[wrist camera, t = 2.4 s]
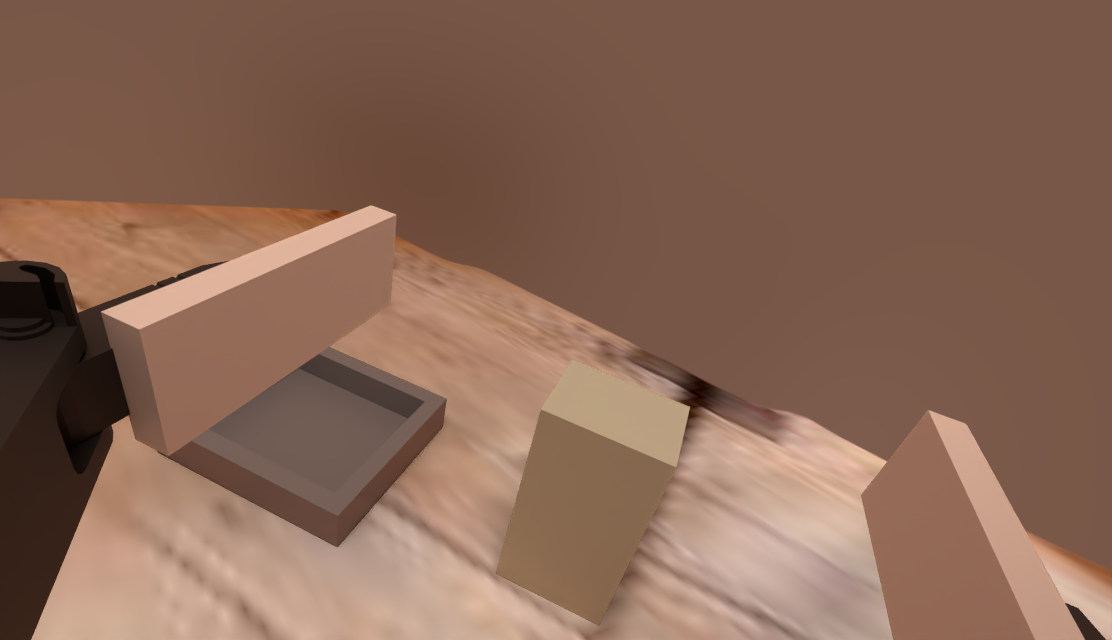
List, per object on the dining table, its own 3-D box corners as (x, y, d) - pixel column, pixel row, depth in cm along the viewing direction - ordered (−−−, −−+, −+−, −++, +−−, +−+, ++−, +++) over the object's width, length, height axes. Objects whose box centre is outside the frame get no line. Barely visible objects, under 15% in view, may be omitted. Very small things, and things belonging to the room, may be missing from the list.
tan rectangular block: (618, 558, 36) (689, 407, 29) (598, 625, 32) (676, 467, 25) (526, 515, 37) (572, 359, 30) (495, 573, 33) (540, 409, 26)
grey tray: (442, 426, 43) (446, 399, 41) (337, 547, 32) (337, 516, 31) (297, 360, 45) (296, 332, 44) (157, 452, 35) (149, 419, 33)
